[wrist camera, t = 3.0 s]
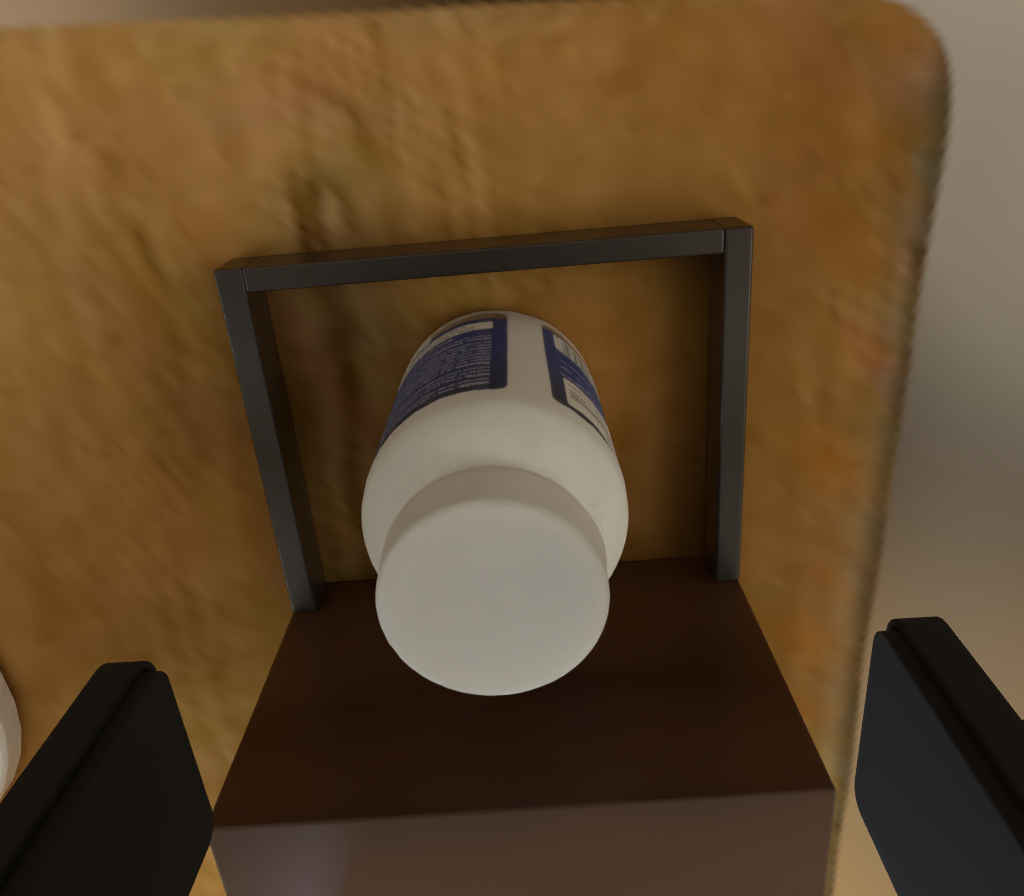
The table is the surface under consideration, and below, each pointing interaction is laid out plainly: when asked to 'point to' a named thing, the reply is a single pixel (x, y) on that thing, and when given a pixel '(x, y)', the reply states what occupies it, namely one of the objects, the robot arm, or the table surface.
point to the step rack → (530, 714)
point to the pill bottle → (495, 507)
